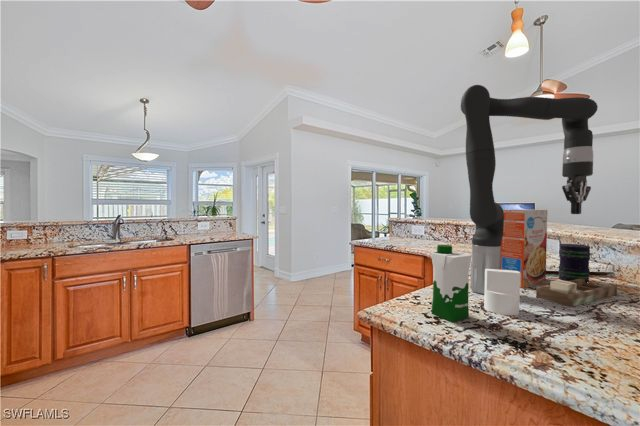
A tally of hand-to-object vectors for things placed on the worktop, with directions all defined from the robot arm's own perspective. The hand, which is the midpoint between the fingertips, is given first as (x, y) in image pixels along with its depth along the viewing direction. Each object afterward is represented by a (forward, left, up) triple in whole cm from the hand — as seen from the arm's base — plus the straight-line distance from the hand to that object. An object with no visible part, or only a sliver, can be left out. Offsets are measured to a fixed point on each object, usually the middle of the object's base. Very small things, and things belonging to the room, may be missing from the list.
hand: (576, 214), depth 94 cm
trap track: (+3, +6, -29) cm, 30 cm away
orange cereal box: (-8, +21, -29) cm, 37 cm away
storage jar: (+12, +31, -29) cm, 44 cm away
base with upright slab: (-25, -19, -29) cm, 43 cm away
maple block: (-3, -1, -27) cm, 27 cm away
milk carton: (-40, -30, -29) cm, 58 cm away
